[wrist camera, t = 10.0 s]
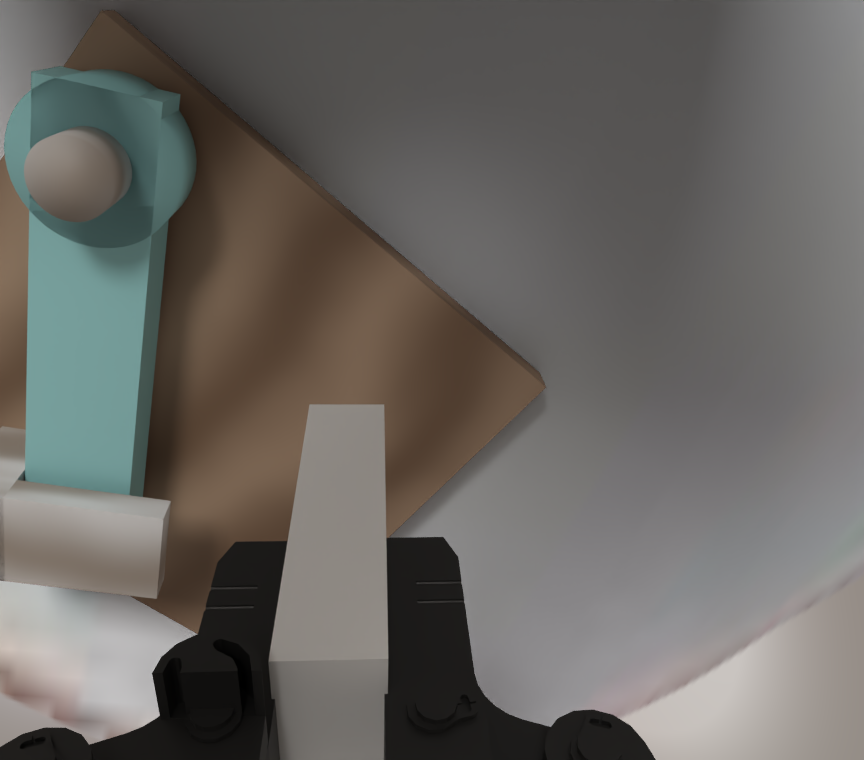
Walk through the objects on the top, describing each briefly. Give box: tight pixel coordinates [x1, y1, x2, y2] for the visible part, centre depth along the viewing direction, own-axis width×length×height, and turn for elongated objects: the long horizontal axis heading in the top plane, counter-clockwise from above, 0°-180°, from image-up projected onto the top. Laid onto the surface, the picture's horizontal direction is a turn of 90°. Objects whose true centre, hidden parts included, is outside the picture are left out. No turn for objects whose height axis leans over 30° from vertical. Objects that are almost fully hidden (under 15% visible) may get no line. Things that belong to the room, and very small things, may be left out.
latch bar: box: [4, 66, 197, 497], centre depth 29 cm, size 20×6×2 cm, turn 167°
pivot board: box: [0, 10, 546, 634], centre depth 31 cm, size 22×21×7 cm
